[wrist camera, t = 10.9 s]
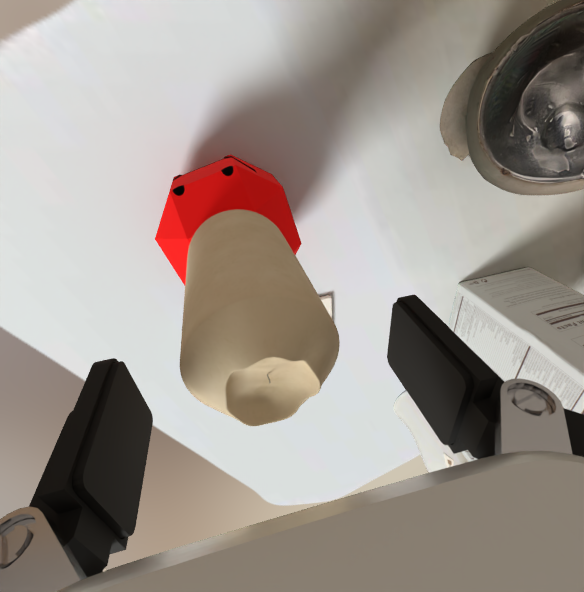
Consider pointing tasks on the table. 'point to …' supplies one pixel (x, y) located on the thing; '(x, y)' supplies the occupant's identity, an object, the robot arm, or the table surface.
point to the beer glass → (427, 437)
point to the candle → (252, 322)
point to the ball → (220, 205)
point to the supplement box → (525, 330)
